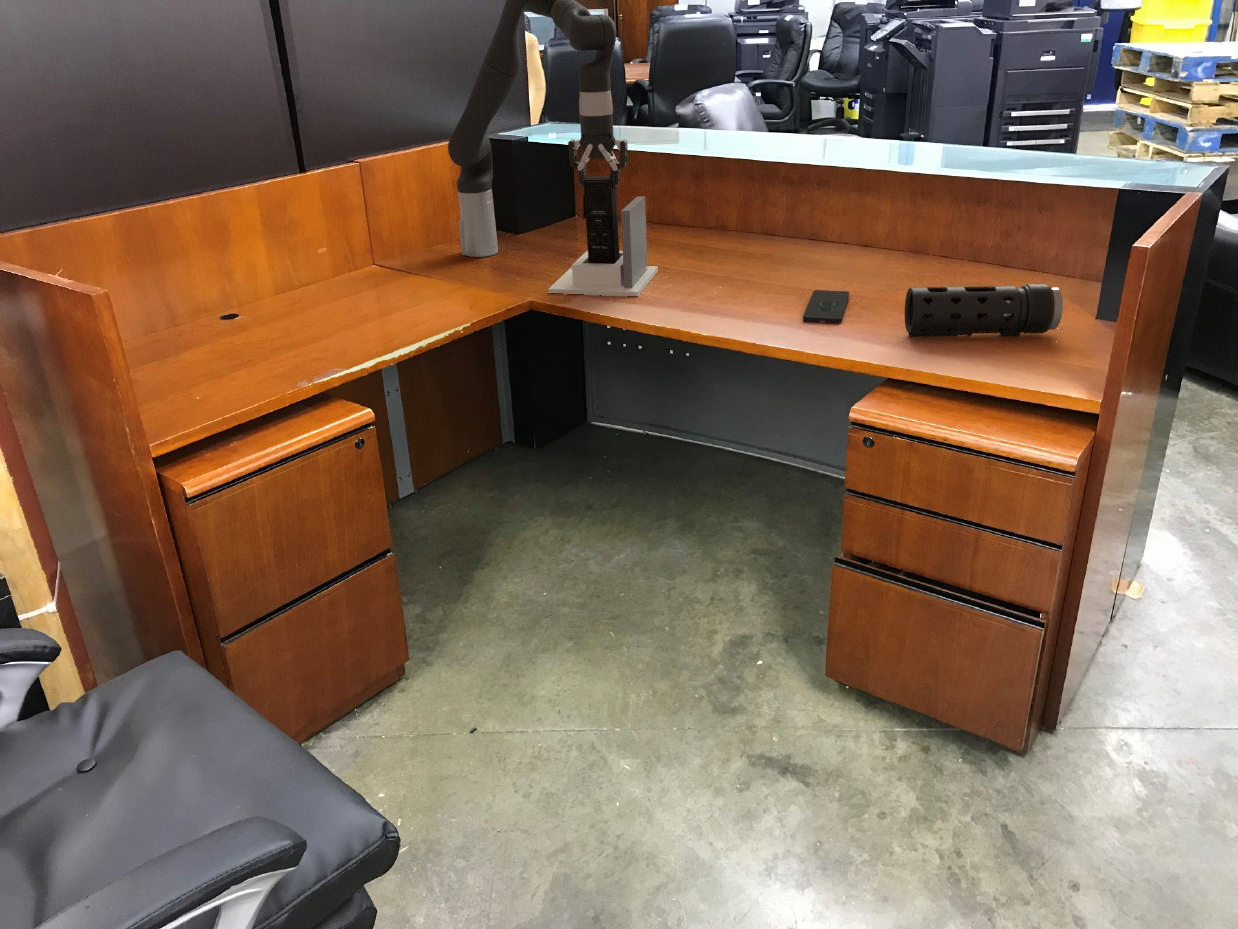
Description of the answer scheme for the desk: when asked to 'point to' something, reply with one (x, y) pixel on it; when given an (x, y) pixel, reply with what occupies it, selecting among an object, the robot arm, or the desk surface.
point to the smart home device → (826, 307)
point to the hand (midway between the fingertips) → (599, 186)
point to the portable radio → (601, 220)
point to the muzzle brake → (982, 310)
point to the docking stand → (622, 275)
